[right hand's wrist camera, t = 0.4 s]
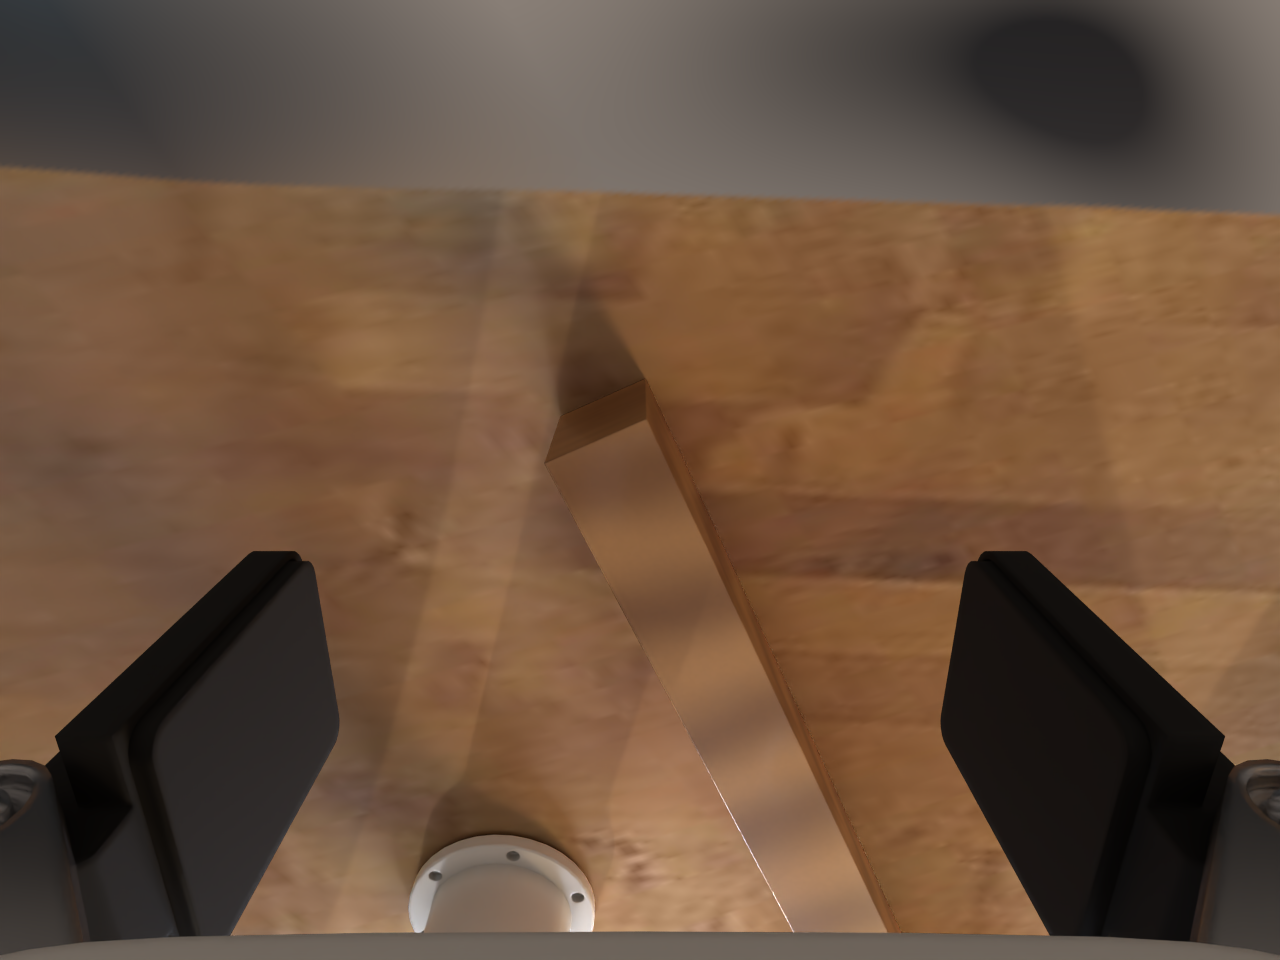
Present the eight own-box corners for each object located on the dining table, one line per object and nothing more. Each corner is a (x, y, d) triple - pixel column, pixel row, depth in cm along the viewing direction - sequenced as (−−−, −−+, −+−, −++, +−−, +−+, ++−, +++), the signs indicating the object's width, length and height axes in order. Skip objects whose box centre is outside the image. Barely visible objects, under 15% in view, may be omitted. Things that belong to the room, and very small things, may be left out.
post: (560, 416, 41) (543, 463, 34) (645, 378, 40) (646, 418, 33) (915, 1111, 62) (949, 1225, 55) (976, 1095, 61) (1017, 1208, 54)
